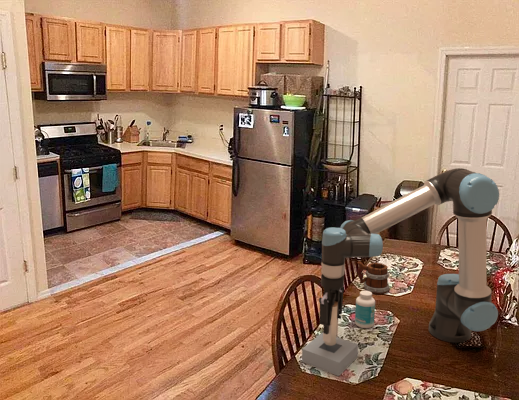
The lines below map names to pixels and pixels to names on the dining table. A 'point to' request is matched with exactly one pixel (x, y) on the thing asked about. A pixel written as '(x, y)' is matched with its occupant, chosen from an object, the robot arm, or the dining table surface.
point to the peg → (333, 325)
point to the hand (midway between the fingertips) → (330, 338)
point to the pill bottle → (365, 310)
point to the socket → (330, 354)
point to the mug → (374, 277)
